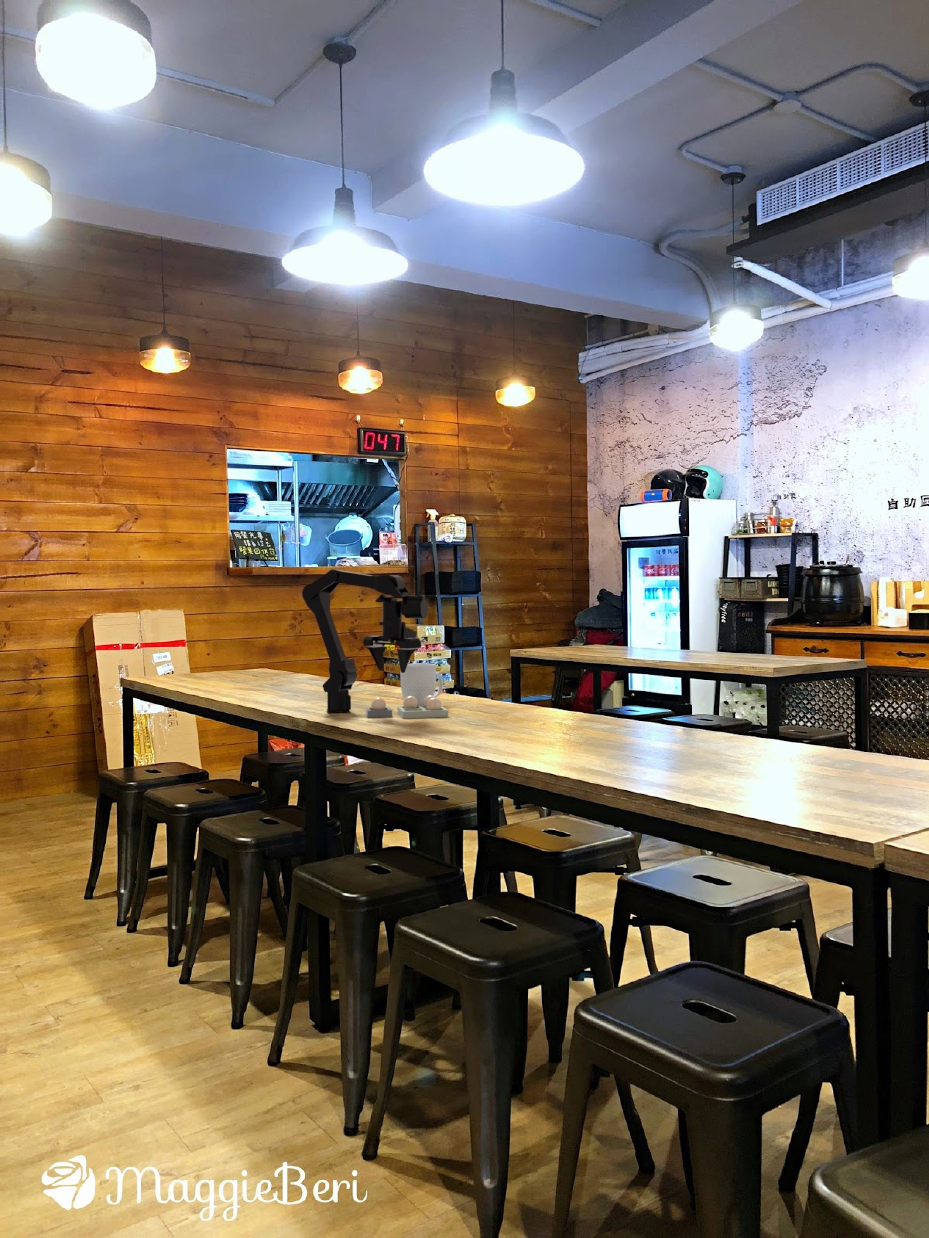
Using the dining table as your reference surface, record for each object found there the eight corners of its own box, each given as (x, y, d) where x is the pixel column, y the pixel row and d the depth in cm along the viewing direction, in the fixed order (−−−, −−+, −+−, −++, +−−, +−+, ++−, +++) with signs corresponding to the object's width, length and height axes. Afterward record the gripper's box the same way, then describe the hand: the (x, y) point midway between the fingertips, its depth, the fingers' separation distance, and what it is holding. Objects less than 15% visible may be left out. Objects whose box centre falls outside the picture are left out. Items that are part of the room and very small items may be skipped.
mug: (431, 702, 304) (431, 661, 304) (453, 705, 296) (453, 663, 295) (393, 706, 295) (393, 664, 295) (414, 709, 286) (414, 666, 286)
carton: (402, 718, 267) (402, 699, 267) (397, 712, 280) (397, 694, 280) (448, 716, 270) (448, 698, 269) (441, 711, 282) (440, 693, 282)
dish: (367, 717, 269) (367, 710, 269) (365, 714, 276) (365, 707, 276) (392, 716, 271) (392, 710, 271) (389, 713, 278) (389, 707, 277)
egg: (372, 713, 271) (371, 698, 271) (370, 711, 275) (370, 696, 275) (386, 712, 272) (386, 698, 272) (385, 711, 276) (385, 696, 276)
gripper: (434, 618, 276) (434, 672, 277) (389, 616, 289) (389, 668, 289) (407, 619, 268) (407, 674, 269) (362, 617, 280) (362, 670, 281)
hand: (391, 671), depth 277 cm, fingers open, 9 cm apart
